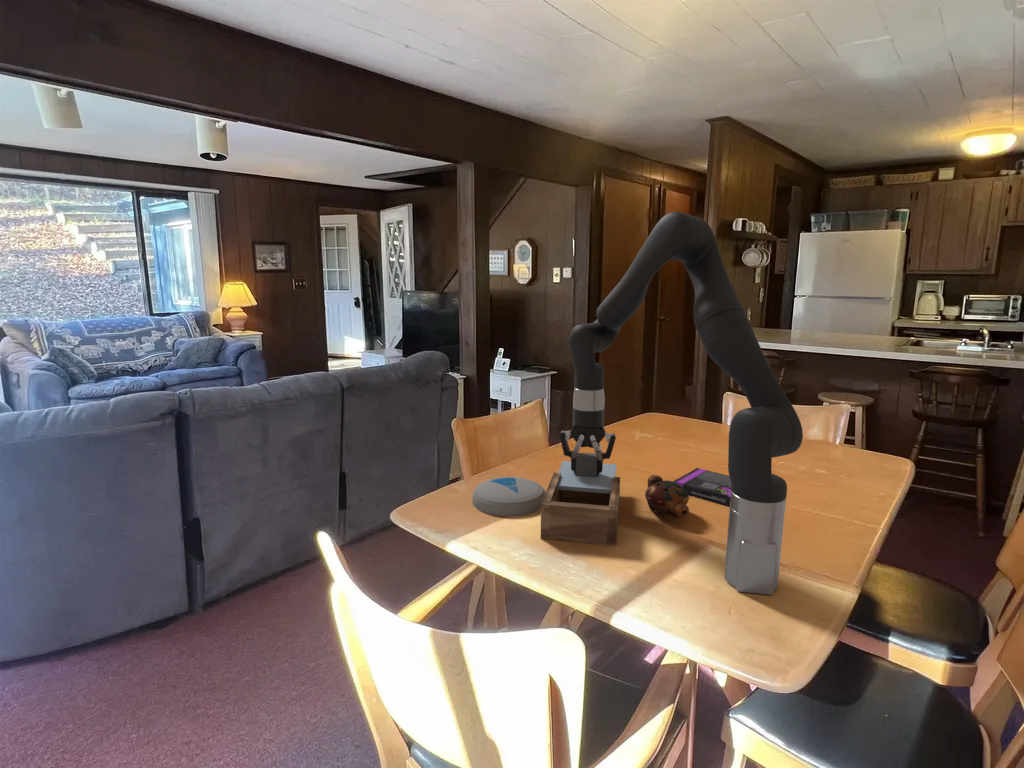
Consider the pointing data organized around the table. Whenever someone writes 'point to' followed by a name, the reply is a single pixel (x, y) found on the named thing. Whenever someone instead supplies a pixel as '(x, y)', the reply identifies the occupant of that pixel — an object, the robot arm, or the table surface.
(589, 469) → the lid
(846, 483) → the table surface
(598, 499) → the walnut box
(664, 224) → the robot arm
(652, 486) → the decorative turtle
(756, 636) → the table surface
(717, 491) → the box
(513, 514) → the grey thick disc
